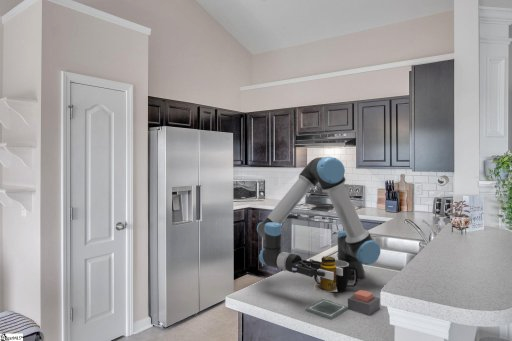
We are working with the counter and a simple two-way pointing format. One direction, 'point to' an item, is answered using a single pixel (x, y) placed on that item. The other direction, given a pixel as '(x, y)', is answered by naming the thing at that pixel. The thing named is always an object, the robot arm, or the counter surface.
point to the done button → (363, 296)
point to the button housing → (364, 305)
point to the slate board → (326, 309)
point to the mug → (343, 280)
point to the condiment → (325, 283)
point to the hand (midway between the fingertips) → (337, 274)
